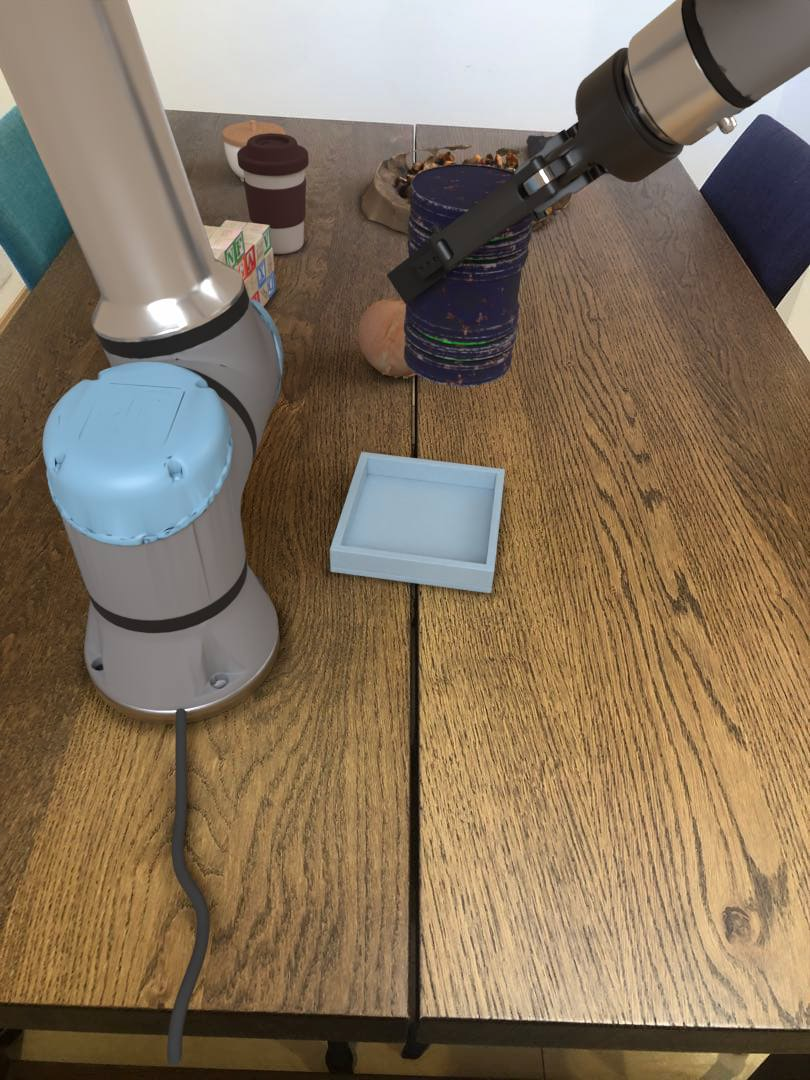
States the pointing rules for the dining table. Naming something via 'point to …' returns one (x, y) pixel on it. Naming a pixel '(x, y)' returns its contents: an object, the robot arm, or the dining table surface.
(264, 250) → the stack of blocks
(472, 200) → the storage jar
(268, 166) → the coffee cup
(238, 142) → the trinket box
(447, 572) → the tray
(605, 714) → the dining table surface
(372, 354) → the onion
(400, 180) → the food dish
